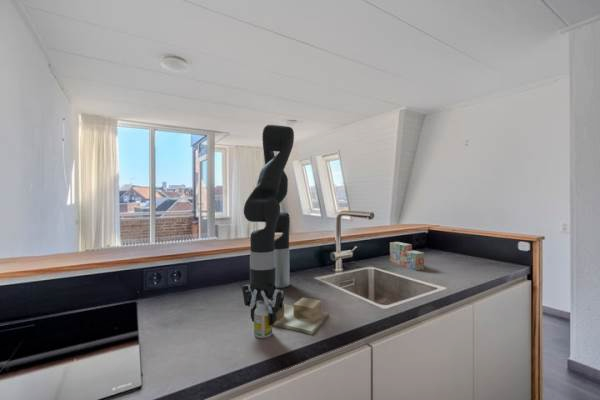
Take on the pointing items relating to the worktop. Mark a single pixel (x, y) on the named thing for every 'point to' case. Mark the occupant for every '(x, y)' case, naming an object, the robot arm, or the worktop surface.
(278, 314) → the walnut block
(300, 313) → the oak pedestal
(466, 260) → the worktop surface
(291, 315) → the birch board
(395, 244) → the stack of blocks
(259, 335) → the supplement bottle
